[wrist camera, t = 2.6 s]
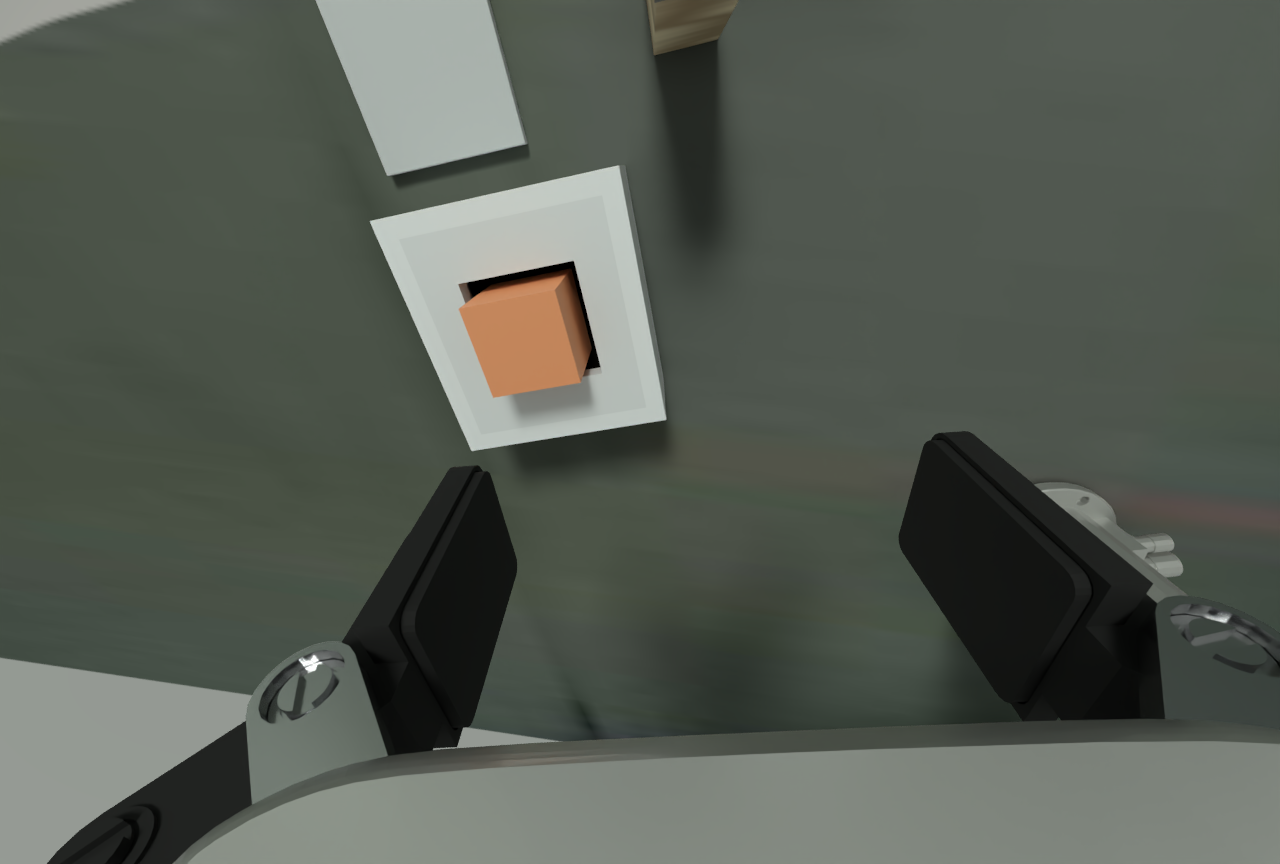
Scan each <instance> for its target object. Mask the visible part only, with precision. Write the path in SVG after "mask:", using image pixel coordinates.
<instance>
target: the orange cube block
mask: <svg viewBox="0 0 1280 864" xmlns="http://www.w3.org/2000/svg"><path fill="white" fill-rule="evenodd" d="M459 311H460V314H461V317H462V319H463V322H464V324H465V327H466V329H467V332H468V335H469V337H470V340H471V342H472V345H473V347H474V350H475V352H476V355H477V358H478V360H479V363H480V365H481V368H482V370H483V373H484V376H485V378H486V381H487V383H488V386H489V388H490V391H491V394H492V396H493V398H495V397H501V396H507V395H512V394H518V393H524V392H530V391H536V390H541V389H547V388H553V387H559V386H565V385H570V384H576V383H581V380H582V377H583V374H584V371H585V368H586V365H587V362H588V358H589V355H590V352H591V349H592V347H591V343H590V339H589V335H588V331H587V328H586V324H585V320H584V316H583V312H582V308H581V304H580V300H579V296H578V292H577V289H576V285H575V281H574V277H573V273H572V269H566V270H561V271H556V272H551V273H546V274H541V275H536V276H531V277H526V278H521V279H516V280H511V281H506V282H501V283H496V284H491V285H490V286H488V287H487V288H486V289H484V290H483V291H482V292H480V293H479V294H478V295H476V296H475V297H474V298H472V299H471V300H470V301H468V302H467V303H466V304H464V305H463V306H462V307H460V308H459Z"/></svg>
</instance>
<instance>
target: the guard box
mask: <svg viewBox="0 0 1280 864" xmlns="http://www.w3.org/2000/svg"><path fill="white" fill-rule="evenodd" d="M370 223H371V225H372V228H373V230H374V232H375V234H376V237H377V239H378V241H379V243H380V246H381V248H382V250H383V252H384V255H385V257H386V259H387V261H388V264H389V266H390V268H391V270H392V273H393V275H394V277H395V279H396V282H397V284H398V286H399V288H400V291H401V293H402V295H403V297H404V300H405V302H406V304H407V306H408V309H409V311H410V313H411V316H412V318H413V320H414V322H415V325H416V327H417V329H418V331H419V334H420V336H421V338H422V340H423V343H424V345H425V347H426V349H427V352H428V354H429V356H430V358H431V361H432V363H433V365H434V367H435V370H436V372H437V374H438V376H439V379H440V381H441V383H442V385H443V388H444V390H445V392H446V394H447V397H448V399H449V401H450V403H451V406H452V408H453V410H454V412H455V415H456V417H457V419H458V421H459V424H460V426H461V428H462V430H463V433H464V435H465V437H466V439H467V442H468V444H469V446H470V448H471V451H475V450H481V449H487V448H494V447H500V446H506V445H512V444H519V443H525V442H531V441H537V440H544V439H550V438H556V437H563V436H569V435H575V434H581V433H588V432H594V431H600V430H606V429H613V428H619V427H625V426H631V425H638V424H644V423H650V422H656V421H663V420H666V406H665V391H664V377H663V372H662V366H661V361H660V355H659V350H658V344H657V339H656V333H655V328H654V322H653V317H652V311H651V305H650V300H649V294H648V289H647V283H646V278H645V272H644V267H643V261H642V256H641V250H640V245H639V239H638V234H637V228H636V223H635V217H634V211H633V206H632V200H631V195H630V189H629V184H628V178H627V173H626V167H625V165H618V166H614V167H609V168H605V169H600V170H596V171H592V172H587V173H583V174H578V175H574V176H569V177H565V178H560V179H556V180H551V181H547V182H543V183H538V184H534V185H529V186H525V187H520V188H516V189H511V190H507V191H502V192H498V193H494V194H489V195H485V196H480V197H476V198H471V199H467V200H462V201H458V202H453V203H449V204H445V205H440V206H436V207H431V208H427V209H422V210H418V211H413V212H409V213H404V214H400V215H396V216H391V217H387V218H382V219H378V220H373V221H370ZM570 261H574V263H575V267H576V271H577V275H578V279H579V283H580V287H581V291H582V295H583V299H584V303H585V307H586V311H587V315H588V319H589V323H590V327H591V331H592V335H593V339H594V343H595V347H596V351H597V355H598V359H599V363H600V367H599V368H593V369H587V370H585V371H584V374H583V377H582V380H581V383H576V384H570V385H565V386H559V387H553V388H547V389H541V390H536V391H530V392H524V393H518V394H512V395H507V396H501V397H495V398H493V396H492V394H491V391H490V388H489V386H488V383H487V381H486V378H485V376H484V373H483V370H482V368H481V365H480V363H479V360H478V358H477V355H476V352H475V350H474V347H473V345H472V342H471V340H470V337H469V335H468V332H467V329H466V327H465V324H464V322H463V319H462V317H461V314H460V311H459V308H460V307H462V306H463V305H464V304H466V303H467V302H468V301H470V300H471V299H472V298H473V295H472V292H471V290H470V287H469V284H468V282H471V281H476V280H481V279H486V278H491V277H496V276H501V275H506V274H511V273H516V272H521V271H526V270H531V269H535V268H540V267H545V266H550V265H555V264H560V263H565V262H570Z"/></svg>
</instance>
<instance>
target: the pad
mask: <svg viewBox="0 0 1280 864" xmlns="http://www.w3.org/2000/svg"><path fill="white" fill-rule="evenodd" d="M316 2H317V5H318V7H319V10H320V12H321V14H322V17H323V19H324V22H325V24H326V27H327V29H328V32H329V34H330V37H331V39H332V41H333V44H334V46H335V49H336V51H337V54H338V56H339V59H340V61H341V64H342V66H343V68H344V71H345V73H346V76H347V78H348V81H349V83H350V86H351V88H352V90H353V93H354V95H355V98H356V100H357V103H358V105H359V108H360V110H361V113H362V115H363V117H364V120H365V122H366V125H367V127H368V130H369V132H370V135H371V137H372V139H373V142H374V144H375V147H376V149H377V152H378V154H379V157H380V159H381V162H382V164H383V166H384V169H385V171H386V174H387V176H394V175H398V174H402V173H406V172H411V171H415V170H419V169H423V168H428V167H432V166H436V165H440V164H445V163H449V162H453V161H457V160H462V159H466V158H470V157H475V156H479V155H483V154H487V153H492V152H496V151H500V150H504V149H509V148H513V147H517V146H521V145H526V144H528V142H527V139H526V135H525V131H524V127H523V124H522V120H521V116H520V112H519V109H518V105H517V101H516V97H515V94H514V90H513V86H512V82H511V79H510V75H509V71H508V67H507V64H506V60H505V56H504V52H503V49H502V45H501V41H500V37H499V34H498V30H497V26H496V22H495V19H494V15H493V11H492V7H491V4H490V0H316Z"/></svg>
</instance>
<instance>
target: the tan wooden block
mask: <svg viewBox="0 0 1280 864" xmlns="http://www.w3.org/2000/svg"><path fill="white" fill-rule="evenodd" d="M738 1H739V0H646V2H647V9H648V16H649V23H650V31H651V38H652V45H653V52H654V55H658V54H662V53H666V52H670V51H674V50H678V49H682V48H686V47H690V46H694V45H698V44H702V43H706V42H710V41H714V40H718V38H719V36H720V34H721V33H722V31H723V29H724V27H725V25H726V23H727V21H728V19H729V18H730V16H731V14H732V12H733V10H734V8H735V6H736V4H737V2H738Z"/></svg>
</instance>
